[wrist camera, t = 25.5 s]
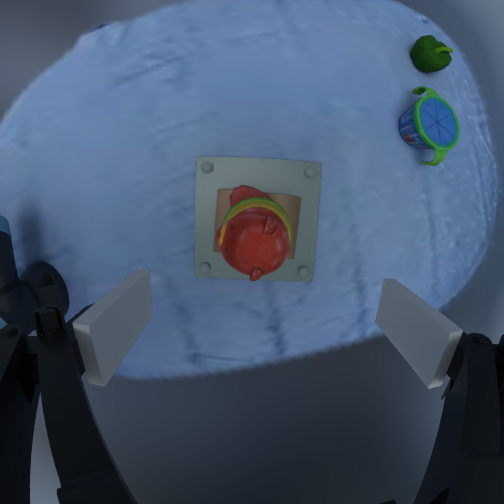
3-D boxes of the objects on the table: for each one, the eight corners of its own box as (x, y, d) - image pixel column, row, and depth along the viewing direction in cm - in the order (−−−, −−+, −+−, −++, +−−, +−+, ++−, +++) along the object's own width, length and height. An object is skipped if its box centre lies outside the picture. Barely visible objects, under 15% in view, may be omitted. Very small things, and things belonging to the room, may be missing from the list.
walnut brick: (217, 244, 50) (213, 252, 45) (221, 188, 48) (217, 188, 42) (289, 251, 51) (294, 259, 45) (295, 195, 49) (301, 197, 43)
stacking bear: (235, 180, 42) (224, 176, 25) (296, 204, 43) (326, 217, 26) (211, 245, 44) (187, 282, 27) (271, 267, 45) (282, 317, 28)
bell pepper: (403, 65, 43) (426, 49, 33) (407, 40, 41) (428, 23, 31) (433, 84, 43) (458, 72, 34) (435, 58, 41) (459, 45, 32)
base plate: (195, 275, 53) (193, 278, 51) (197, 157, 48) (195, 156, 46) (311, 280, 53) (313, 283, 51) (319, 163, 48) (322, 162, 46)
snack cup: (389, 89, 44) (413, 74, 34) (429, 102, 44) (456, 91, 35) (390, 161, 48) (417, 158, 38) (431, 170, 48) (460, 169, 38)
